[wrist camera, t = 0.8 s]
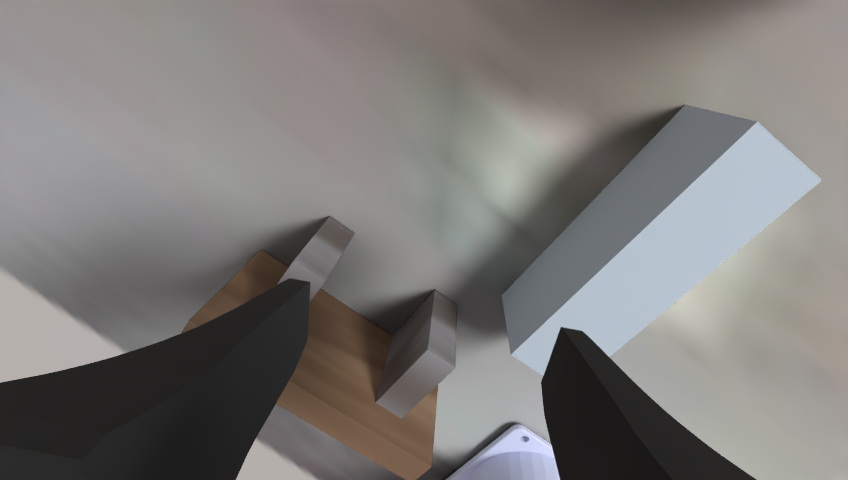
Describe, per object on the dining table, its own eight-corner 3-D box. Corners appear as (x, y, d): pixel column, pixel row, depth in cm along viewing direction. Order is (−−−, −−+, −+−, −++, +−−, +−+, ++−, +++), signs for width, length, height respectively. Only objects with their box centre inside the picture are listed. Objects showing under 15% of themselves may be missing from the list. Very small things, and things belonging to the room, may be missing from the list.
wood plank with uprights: (298, 193, 21) (233, 248, 15) (483, 323, 23) (491, 417, 17) (248, 268, 23) (174, 343, 17) (423, 382, 25) (411, 483, 19)
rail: (734, 148, 19) (822, 180, 14) (546, 325, 23) (567, 392, 19) (683, 104, 18) (757, 121, 14) (501, 293, 23) (510, 354, 18)
